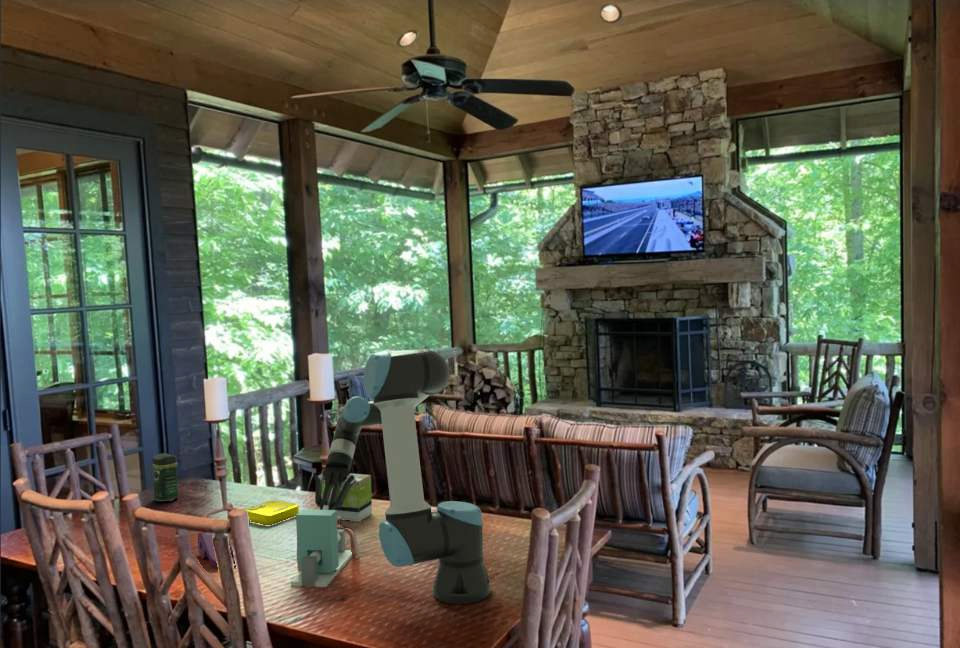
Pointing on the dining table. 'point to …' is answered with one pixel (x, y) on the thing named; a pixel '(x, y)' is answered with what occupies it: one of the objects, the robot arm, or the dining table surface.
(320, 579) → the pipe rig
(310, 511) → the sleeve
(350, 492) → the tea box
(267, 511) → the element tile
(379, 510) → the dining table surface
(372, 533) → the dining table surface
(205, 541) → the mounting bracket
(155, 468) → the coffee jar
